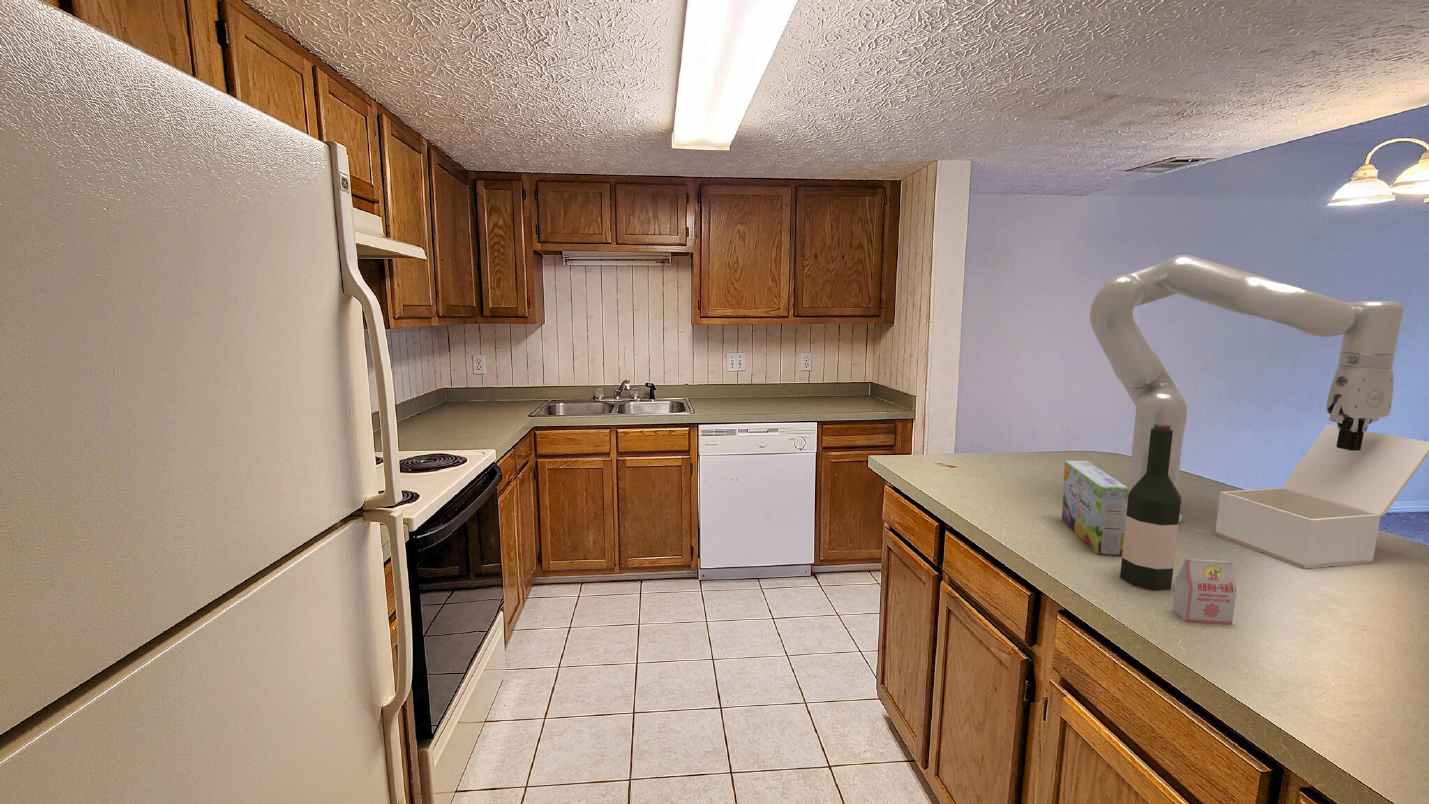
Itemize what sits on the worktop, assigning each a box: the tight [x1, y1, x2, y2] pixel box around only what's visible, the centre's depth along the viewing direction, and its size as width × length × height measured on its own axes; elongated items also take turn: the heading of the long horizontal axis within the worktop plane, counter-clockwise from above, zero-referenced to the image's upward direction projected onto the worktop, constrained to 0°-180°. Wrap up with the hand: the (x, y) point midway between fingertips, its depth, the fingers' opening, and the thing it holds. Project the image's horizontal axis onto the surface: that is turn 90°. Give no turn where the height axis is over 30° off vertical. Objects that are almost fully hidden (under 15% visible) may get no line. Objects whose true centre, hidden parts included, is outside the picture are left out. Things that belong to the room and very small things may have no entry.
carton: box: [1214, 487, 1382, 570], centre depth 125 cm, size 16×18×10 cm
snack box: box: [1061, 460, 1129, 557], centre depth 132 cm, size 21×6×15 cm, turn 168°
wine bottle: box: [1119, 424, 1183, 592], centre depth 109 cm, size 8×8×30 cm
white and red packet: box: [1172, 558, 1237, 625], centre depth 98 cm, size 4×7×10 cm, turn 80°
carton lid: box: [1281, 424, 1429, 517], centre depth 125 cm, size 17×18×1 cm
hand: (1348, 448), depth 124 cm, fingers closed
